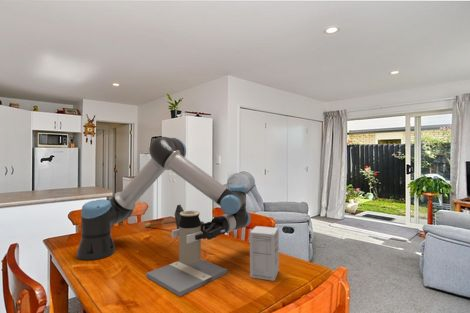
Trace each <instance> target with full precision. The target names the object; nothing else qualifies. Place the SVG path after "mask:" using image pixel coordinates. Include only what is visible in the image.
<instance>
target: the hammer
mask: <svg viewBox="0 0 470 313" xmlns="http://www.w3.org/2000/svg"><path fill="white" fill-rule="evenodd" d="M183 211H184V209H183V207H182V205H181V204H177V205H176V209H175V212H174V219H172V220H164V221H157V222H146V223H145V224H144V227H146V228H149V227H154V226H160V225H161V226H162V225H163V226H164V225H169V224H176V225H175V226H176V229H175V230H177V229H179V221H180V219H181V215H180V213H181V212H183Z"/></svg>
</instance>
